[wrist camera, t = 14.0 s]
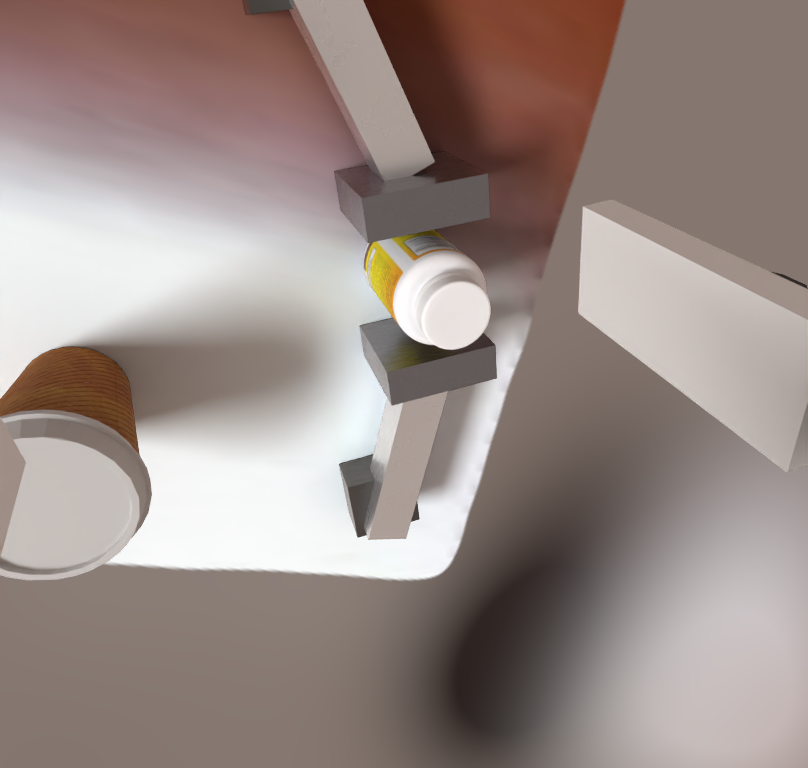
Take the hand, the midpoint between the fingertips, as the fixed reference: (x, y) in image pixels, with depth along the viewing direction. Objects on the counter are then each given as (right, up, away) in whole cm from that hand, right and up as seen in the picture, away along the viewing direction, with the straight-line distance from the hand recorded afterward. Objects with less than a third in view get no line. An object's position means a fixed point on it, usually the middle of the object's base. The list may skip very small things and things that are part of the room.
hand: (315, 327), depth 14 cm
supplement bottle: (+2, +7, +29) cm, 30 cm away
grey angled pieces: (0, +7, +29) cm, 29 cm away
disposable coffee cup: (-19, -2, +27) cm, 33 cm away
